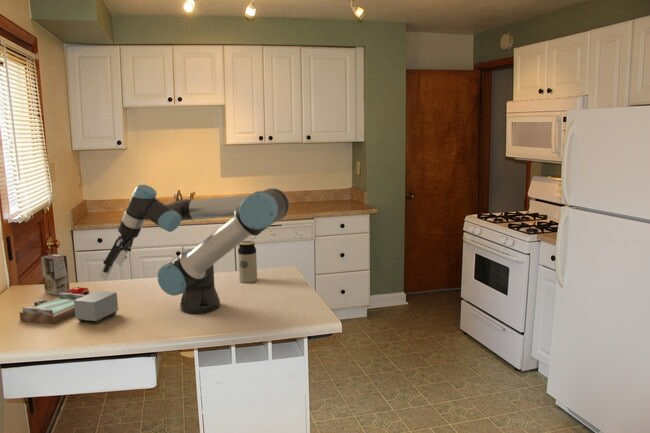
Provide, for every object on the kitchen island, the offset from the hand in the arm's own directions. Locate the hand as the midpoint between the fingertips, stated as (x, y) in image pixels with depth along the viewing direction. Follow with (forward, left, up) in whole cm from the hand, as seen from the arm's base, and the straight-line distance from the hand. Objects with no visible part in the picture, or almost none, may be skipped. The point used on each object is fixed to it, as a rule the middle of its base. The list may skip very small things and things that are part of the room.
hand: (110, 271), depth 208 cm
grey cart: (+2, +7, -17) cm, 18 cm away
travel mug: (-31, -52, -17) cm, 63 cm away
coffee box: (+42, -15, -17) cm, 48 cm away
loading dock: (+21, +7, -17) cm, 28 cm away
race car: (+29, -11, -17) cm, 36 cm away
